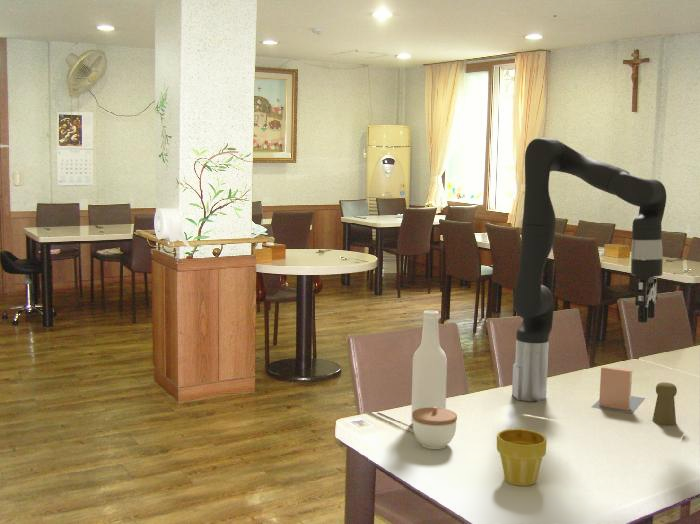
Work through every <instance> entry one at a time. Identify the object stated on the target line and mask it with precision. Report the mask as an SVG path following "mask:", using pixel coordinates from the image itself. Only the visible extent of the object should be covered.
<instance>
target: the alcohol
mask: <svg viewBox="0 0 700 524" xmlns="http://www.w3.org/2000/svg"><path fill="white" fill-rule="evenodd" d="M439 314H440V313H439V311H437V310H432V309H431V310H430V309H429V310H428V309H427V310H424V311H423V315H422V319H423V322H422V333H421V342H420V345H419V347H418V348H417V349H416V350H415V352H414V354H413V357H412V373H411V374H412V376H411V377H412V379H411V381H412V382H411V383H412V384H411V389H412V390H411V417H410V420H411V423H412V424H413V418H412V413H413V412H414V411H415V410H417V409H421V408H429V407H437V408H443V409H447V407H446V405H447V403H446V402H447V375H448V373H447V372H448V371H447V370H448V359H447V355H446V352H445V351H444V349H443V348H442V347H441V343H440V330H439V327H440V326H439V318H440V317H439Z"/></svg>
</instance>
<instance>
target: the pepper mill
mask: <svg viewBox="0 0 700 524" xmlns="http://www.w3.org/2000/svg"><path fill="white" fill-rule="evenodd" d="M655 392H656V394H657V396H656V401H655V406H654V412H653V416H652V423H654V424H656V425H661V426H666V427H667V426H668V427H671V426H675V425H677V417H676V406H675V405H676V402H675V397H676V395H677V393H678V388H677V386H676V385H675V384H674V383H672V382H671V383H670V382H665V381H664V382H663V381H662V382H659V383H657V384H656V386H655Z"/></svg>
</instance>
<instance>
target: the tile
mask: <svg viewBox="0 0 700 524" xmlns="http://www.w3.org/2000/svg"><path fill="white" fill-rule="evenodd" d="M632 379H633V370H632V369H628V368H619V367H612V366H605V365H603V366H601V367H600V383H599V385H600V386H599V397H598V398H599V399H598V400H599V406H605V407H611V408H617V409H623V410H629V409H630V402H631V396H632V384H633V383H632V382H633V381H632Z"/></svg>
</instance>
